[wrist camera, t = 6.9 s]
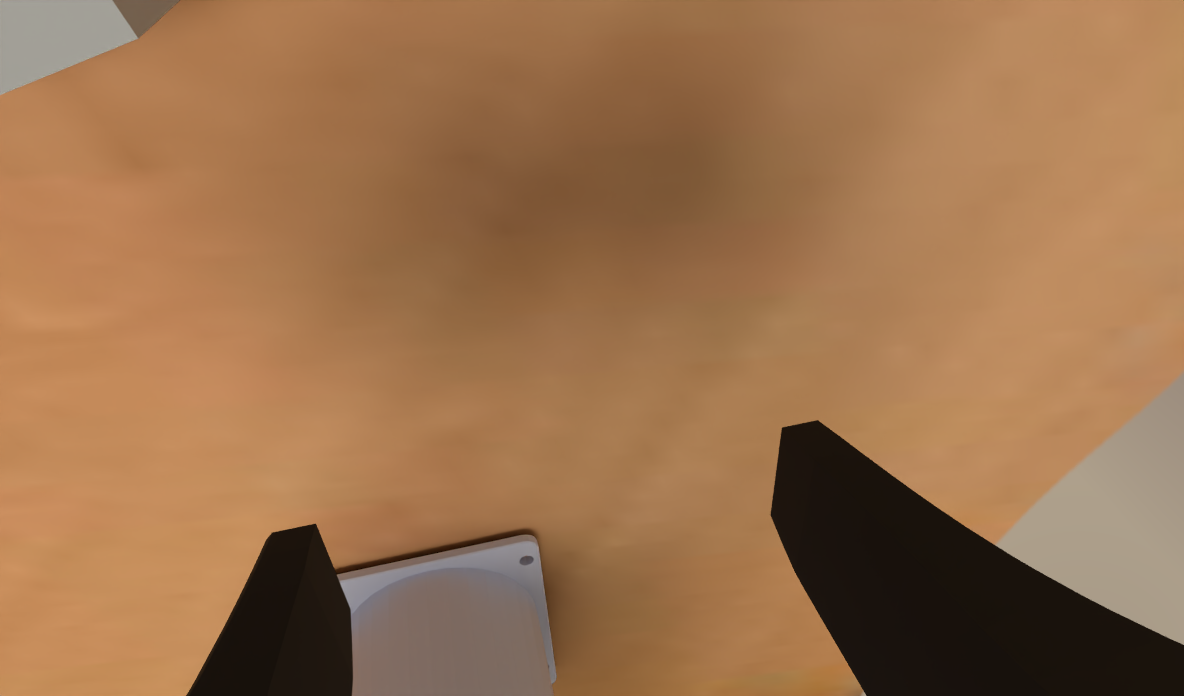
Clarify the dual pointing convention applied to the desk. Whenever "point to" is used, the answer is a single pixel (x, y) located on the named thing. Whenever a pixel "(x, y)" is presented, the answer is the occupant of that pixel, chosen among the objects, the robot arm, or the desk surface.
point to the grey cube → (66, 33)
